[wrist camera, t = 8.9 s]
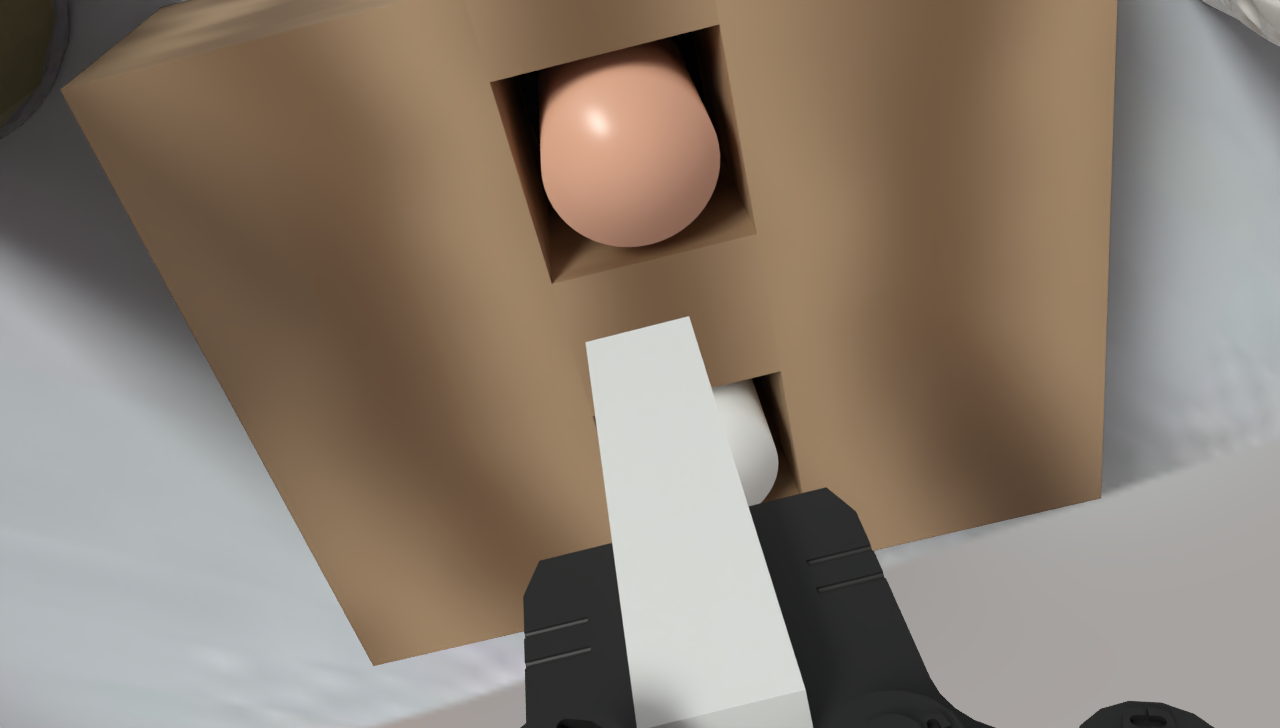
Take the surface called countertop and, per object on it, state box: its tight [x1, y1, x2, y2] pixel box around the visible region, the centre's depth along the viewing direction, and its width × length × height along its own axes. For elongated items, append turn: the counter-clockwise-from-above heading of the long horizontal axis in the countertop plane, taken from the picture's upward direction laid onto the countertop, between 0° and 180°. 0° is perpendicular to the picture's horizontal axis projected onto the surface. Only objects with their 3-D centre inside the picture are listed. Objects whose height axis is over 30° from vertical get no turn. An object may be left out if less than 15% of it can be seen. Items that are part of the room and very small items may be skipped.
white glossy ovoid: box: [712, 378, 778, 506], centre depth 30 cm, size 4×4×6 cm
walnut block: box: [60, 0, 1117, 666], centre depth 28 cm, size 22×18×7 cm
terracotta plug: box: [538, 37, 720, 247], centre depth 25 cm, size 4×4×6 cm
